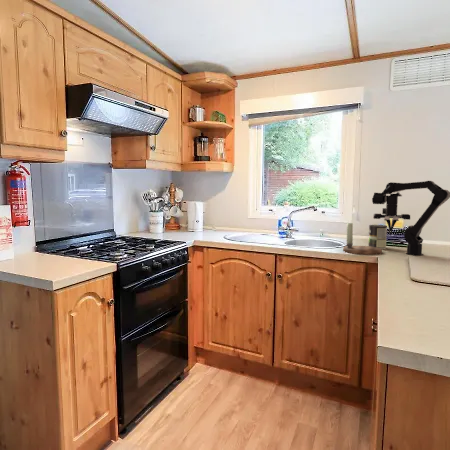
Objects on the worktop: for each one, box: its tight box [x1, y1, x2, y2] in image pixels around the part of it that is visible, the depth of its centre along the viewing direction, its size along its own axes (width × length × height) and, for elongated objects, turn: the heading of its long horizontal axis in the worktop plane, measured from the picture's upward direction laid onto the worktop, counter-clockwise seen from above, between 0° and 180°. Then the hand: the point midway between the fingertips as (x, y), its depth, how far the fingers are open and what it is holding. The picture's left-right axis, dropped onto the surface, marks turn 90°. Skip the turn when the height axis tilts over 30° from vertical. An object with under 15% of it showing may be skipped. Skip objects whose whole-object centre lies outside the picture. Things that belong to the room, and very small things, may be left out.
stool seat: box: [342, 243, 383, 256], centre depth 196 cm, size 21×21×4 cm
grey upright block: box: [367, 224, 388, 250], centre depth 210 cm, size 10×10×14 cm
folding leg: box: [346, 222, 354, 246], centre depth 198 cm, size 3×3×13 cm
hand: (390, 231), depth 194 cm, fingers closed
